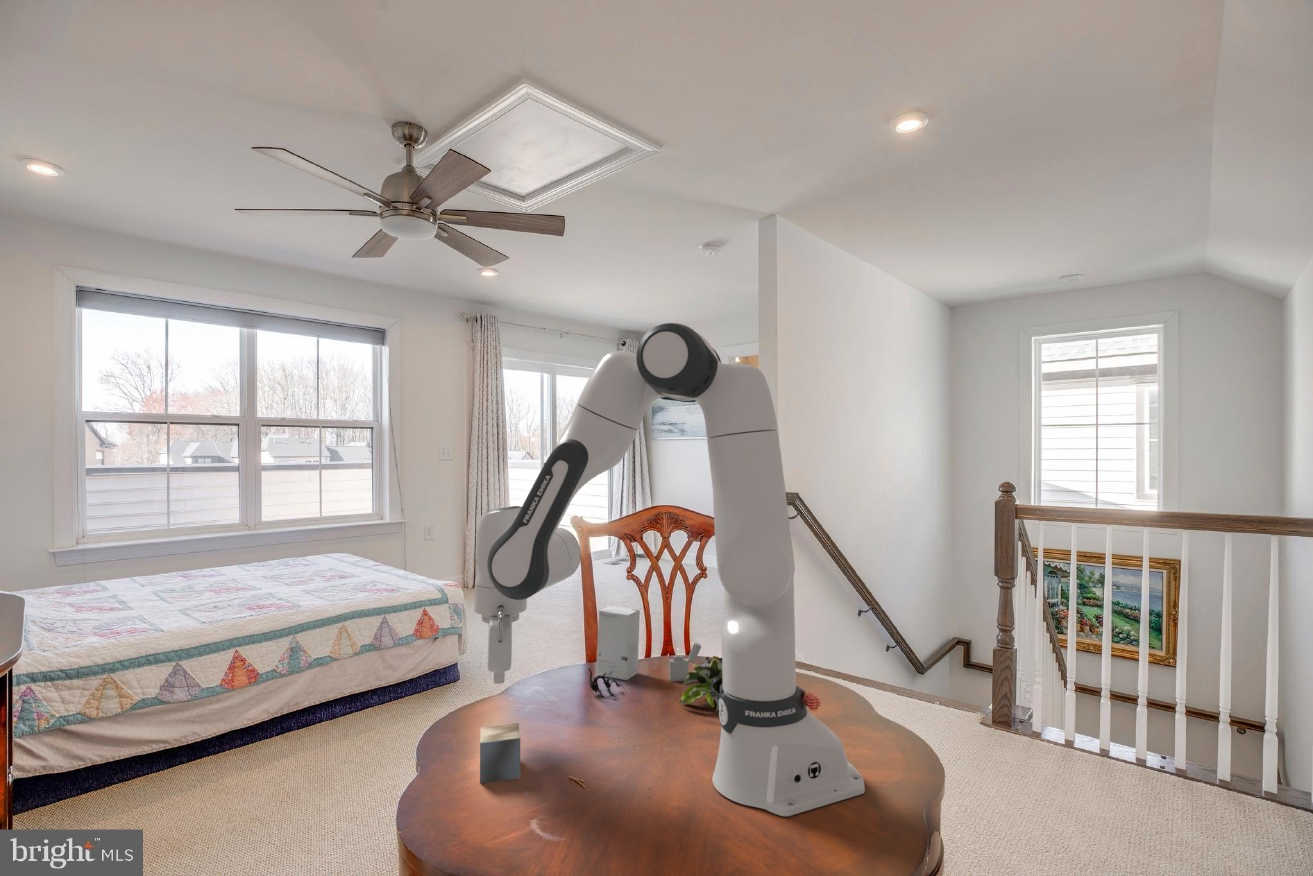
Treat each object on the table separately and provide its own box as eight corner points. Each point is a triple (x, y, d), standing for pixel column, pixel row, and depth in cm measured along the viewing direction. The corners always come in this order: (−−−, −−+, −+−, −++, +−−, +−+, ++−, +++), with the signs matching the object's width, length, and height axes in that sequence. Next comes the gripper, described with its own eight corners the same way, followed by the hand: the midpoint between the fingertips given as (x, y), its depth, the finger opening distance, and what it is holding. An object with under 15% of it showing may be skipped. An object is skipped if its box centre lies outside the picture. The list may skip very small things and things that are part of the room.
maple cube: (518, 723, 102) (520, 738, 96) (518, 760, 101) (520, 778, 96) (480, 727, 100) (480, 743, 94) (480, 765, 100) (479, 783, 94)
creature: (618, 690, 135) (583, 686, 133) (623, 666, 136) (588, 661, 134) (627, 704, 128) (590, 699, 126) (632, 677, 128) (595, 673, 126)
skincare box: (595, 676, 141) (595, 610, 142) (608, 668, 147) (608, 604, 147) (628, 681, 138) (628, 613, 138) (640, 672, 143) (640, 608, 144)
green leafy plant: (715, 725, 127) (746, 674, 130) (724, 738, 116) (757, 682, 119) (670, 693, 128) (701, 642, 131) (674, 703, 117) (708, 648, 120)
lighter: (670, 681, 137) (670, 644, 138) (669, 678, 139) (669, 642, 140) (701, 680, 138) (701, 643, 138) (700, 677, 140) (700, 641, 140)
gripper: (521, 613, 98) (519, 702, 97) (518, 587, 118) (516, 661, 117) (479, 615, 96) (477, 705, 96) (483, 588, 116) (481, 663, 116)
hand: (499, 680), depth 107 cm, fingers closed
